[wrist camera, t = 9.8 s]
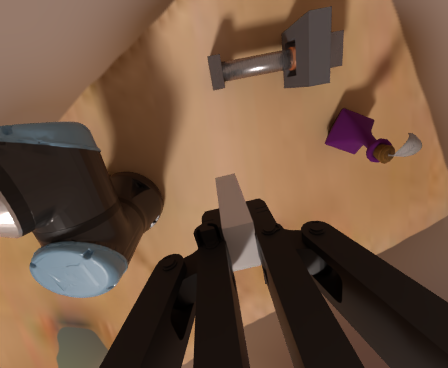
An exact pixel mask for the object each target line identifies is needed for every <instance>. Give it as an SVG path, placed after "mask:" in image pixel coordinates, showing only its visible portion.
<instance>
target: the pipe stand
mask: <svg viewBox="0 0 448 368" xmlns="http://www.w3.org/2000/svg"><path fill="white" fill-rule="evenodd" d="M343 35H344V30H341V31H336V32H331V56H330V68H333V67H337V66H342V57H343ZM207 57H208V64H209V70H210V75H211V81H212V86H213V90H218V89H223V88H225V85H224V82H225V81H230V80H236V79H241V78H246V77H251V76H257V75H262V74H267V73H272V72H278V71H283V70H288V69H289V70H290V71H291V70H296V47H295V46H293V47H289V49H287V50H282V51H277V52H271V53H266V54H261V55H256V56H251V57H246V58H240V59H235V60H230V61H225V62H221V59H220V54H218V55H212V56H207Z"/></svg>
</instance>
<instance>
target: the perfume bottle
mask: <svg viewBox="0 0 448 368" xmlns="http://www.w3.org/2000/svg"><path fill="white" fill-rule="evenodd" d="M373 124H374V120H373V119H371V118H368V117H366V116H363V115H360V114H358V113H355V112H353V111H350V110H348V109H345V108H343V109H342V110H341V112H340V114H339V115H338V117H337V119H336V121H335V123H334V124H333V126H332V128H331V130H330V132H329V134H328V136H327V139H326V141H325V144H326V145H329V146H332V147H335V148H338V149H341V150H344V151H346V152H349V153H352V154H355V153H356V152H357V151H358V150H359V149H360V148H361V147H362V146H363V145H364V146H365V147H366V148H367V151H366V155H367V158H368V159H369V160H370V161H371V162H381V163H384V164H385V163H387V162H389V161H390V160H391V159H392V158H393V157H394V156H401V157H406V156H410V155H414V154H415V153H417V152H418V151H419V150H420V149H421V148H422V143H421V141H420V140H419V139H418V138H417V136H416V135H414V134H413V133H408V134H409V138H408V140H407V141H406V143H405V144H404V145H403V146H402V147H401V148H400V149H399V150H398V151H397V152H396V153H395V149H394V147H393V146H392V144H391V143H390V142H389V141H388V140H387V139H378V140H376V139H375V138H374V136H373V135H372V132H371V129H372V126H373Z"/></svg>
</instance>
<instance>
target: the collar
mask: <svg viewBox="0 0 448 368" xmlns="http://www.w3.org/2000/svg"><path fill="white" fill-rule="evenodd" d="M331 17H332V6H331V7H325V8H320V9H315V10H310V11H308V12H307V13H306V14H304V15H303V16H302V17H301V18H300V19H298V20H297V21H296V22H295V23H294V24H293V25H291V26H290V27H289V28H288V29H287V30H286V31H284V32H283V33H282V50H287V49H289V47H293V46H295V47H296V70H291V71H290V70H289V69H288V70H283V72H284V88H295V87H309V86H315V85H320V84H325V83H330V56H331Z"/></svg>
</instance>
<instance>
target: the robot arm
mask: <svg viewBox="0 0 448 368" xmlns="http://www.w3.org/2000/svg"><path fill="white" fill-rule="evenodd" d="M100 152H101V150H100V149H99V148H98V147H97V145H96V143H95V141H94V139H93V136H92V134H91V132H90V130H89V129H88V128H87V127H86V126H85V125H83V124H81V123H78V122H46V123H30V124H16V125H6V126H0V237H9V238H19V237H22V236H24V235H26V234H28V233H30V232H33V234H34V235H35V237H36V238H37V240H38V242H39V243H40V245H41V248H39V249H38V250H37V251H36V252H35V253H34V255H33V257H32V259H31V263H30V272H31V274H32V276H33V277H34V279H35V280H36V281H37V282H38V283H39V284H40V285H42V286H43V287H45V288H46V289H48V290H50V291H52V292H55V293H57V294H61V295H65V296H69V297H77V298H86V297H94V296H98V295H101V294H104V293H106V292H108V291H110V290H111V289H112V288H114V287H115V286H116V285H117V283H118V282H119V280H120V278H121V277H122V275H123V273H124V272H125V271H126V270H127V268H128V264H129V262H130V260H131V258H132V256H133V254H134V252H135V250H136V247H137V245H138V243H139V241H140V239H141V237H142V235H143V233H145V232H146V231H147V230H149V229H150V228H151V227H152V226H153V225H155V223H156V222H157V221H158V219H159V217H160V215H161V213H162V209H163V199H162V195H161V193H160V191H159V189H158V188H157V187H156V185H155V184H154V183H153V182H151V181H150V180H149V179H147V178H146V177H144V176H142V175H139V174H136V173H131V172H120V173H116V174H113V175H111V176H109V174H108V171H107V169H106V166H105V164H104V161H103V159H102V156H101V154H100ZM215 179H216V187H217V195H218V203H219V209H214V210H210V211H206V212H205V213H204V214H203V216H202V224H201V225H200V226H198V227H197V228H196V229H195V231H194V233H193V234H194V237H195V240H196V243H197V245H198V250H197V251H195V252H194V253H193V254H191V255H189V256H187V257H185V258H183V257H182V256H181V255H179V254H172V255H168V256H166V257H164V258H163V259H162V260H160V261H159V262H158V264H157V265H156V267H155V269H154V270H153V272H152V274H151V276H150V277H149V279H148V281H147V283H146V285H145V286H144V288H143V290H142V292H141V294H140V295H139V297H138V299H137V301H136V303H135V304H134V306H133V308H132V310H131V312H130V313H129V315H128V317H127V319H126V321H125V322H124V324H123V326H122V328H121V329H120V331H119V333H118V335H117V337H116V338H115V340H114V342H113V344H112V346H111V347H110V349H109V351H108V353H107V355H106V356H105V358H104V360H103V362H102V364H101V365H100V367H99V368H181V366H182V362H183V359H184V355H185V351H186V348H187V344H188V340H189V337H190V333H191V329H192V326H193V322H194V318H195V338H194V365H193V368H250V364H249V358H248V353H247V346H246V341H245V335H244V329H243V323H242V317H241V311H240V305H239V299H238V293H237V287H236V281H235V277H234V273H233V271H238V270H242V269H246V268H251V267H255V266H259V265H261V264H262V268H263V273H264V279H265V284H267V286H268V289H269V292H270V295H271V298H272V301H273V304H274V307H275V310H276V313H277V316H278V319H279V322H280V325H281V329H282V331H283V335H284V338H285V341H286V344H287V347H288V350H289V353H290V356H291V359H292V362H293V366H294V368H364V366H363V364H362V362H361V361H360V359H359V357H358V356H357V354H356V352H355V350H354V349H353V347H352V345H351V344H350V342H349V340H348V338H347V337H346V335H345V333H344V332H343V330H342V328H341V327H340V325H339V323H338V321H337V320H336V318H335V317H334V314H333V313H332V311H331V309H330V308H329V306H328V304H327V302H326V301H325V299H324V297H323V296H322V294H323V295H324V296H325V297H326V298H327V299H328V300H329V302H330V303H331V304H332V305H333V306H334V307H335V308H336V309H337V310H338V311H339V312H340V314H341V315H342V316H343V317H344V318H345V319H346V320H347V321H348V322H349V323H350V324H351V326H352V327H353V328H354V329H355V330H356V331H357V332H358V333H359V334H360V335H361V336H362V337H363V339H364V340H365V341H366V342H367V343H368V344H369V345H370V346H371V347H372V348H373V349H374V350H375V352H376V353H377V354H378V355H379V356H380V357H381V358H382V359H383V360H384V361H385V363H386V364H387V365H388V366H389V367H390V368H448V302H446V301H445V300H443V299H442V298H440V297H439V296H437V295H436V294H434V293H433V292H431V291H429V290H428V289H426V288H425V287H423V286H422V285H420V284H419V283H417V282H416V281H414V280H413V279H411V278H410V277H408V276H407V275H405V274H404V273H402V272H401V271H399V270H398V269H396V268H394V267H393V266H392V265H390V264H388V263H387V262H385V261H384V260H382V259H381V258H379V257H378V256H376V255H375V254H373V253H372V252H370V251H369V250H367V249H366V248H364V247H363V246H361V245H360V244H358V243H357V242H355V241H353V240H352V239H350V238H349V237H347V236H346V235H344V234H343V233H341V232H340V231H338V230H337V229H335V228H334V227H332V226H331V225H329V224H327V223H325V222H321V221H310V222H307V223H305V224H303V226H302V227H301V230H287V229H283V227H282V226H281V225H280V224H278V223H276V221H275V219H274V218H273V216H272V214H271V212H270V210H269V209H268V207H267V205H266V203H265V201H263V200H261V199H255V200H250V201H246V202H245V199H244V197H243V194H242V191H241V189H240V186H239V184H238V181H237V178H236V176H235V174H231V175H226V176H222V177H218V178H215ZM321 293H322V294H321Z"/></svg>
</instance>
